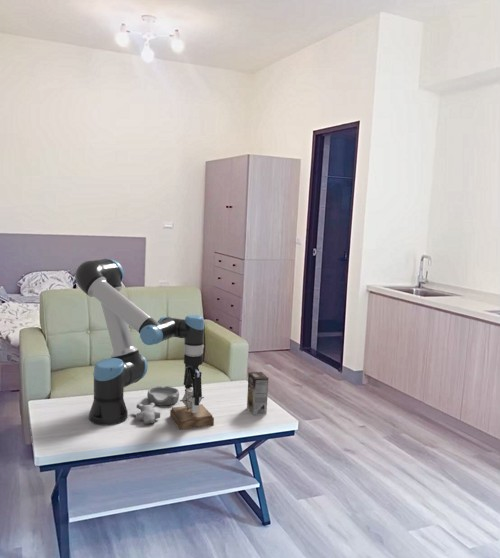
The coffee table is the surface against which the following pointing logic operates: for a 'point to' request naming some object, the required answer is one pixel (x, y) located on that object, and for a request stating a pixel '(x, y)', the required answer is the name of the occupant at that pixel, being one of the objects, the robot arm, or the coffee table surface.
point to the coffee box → (257, 393)
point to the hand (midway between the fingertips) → (191, 408)
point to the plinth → (191, 417)
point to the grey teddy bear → (147, 413)
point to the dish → (163, 395)
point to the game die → (188, 399)
